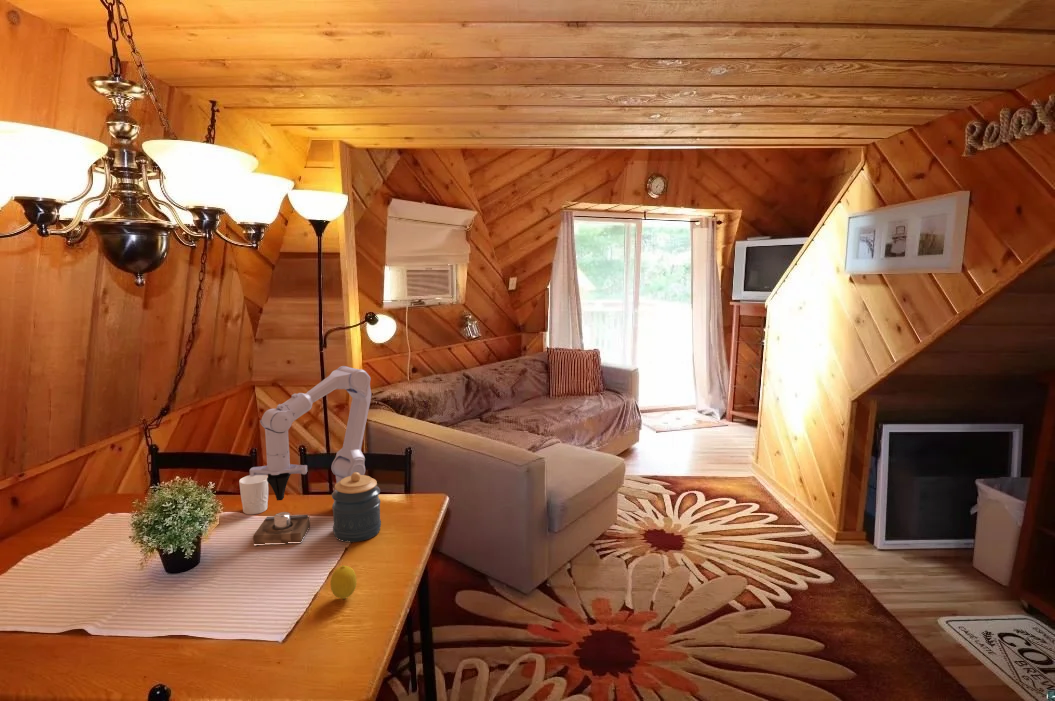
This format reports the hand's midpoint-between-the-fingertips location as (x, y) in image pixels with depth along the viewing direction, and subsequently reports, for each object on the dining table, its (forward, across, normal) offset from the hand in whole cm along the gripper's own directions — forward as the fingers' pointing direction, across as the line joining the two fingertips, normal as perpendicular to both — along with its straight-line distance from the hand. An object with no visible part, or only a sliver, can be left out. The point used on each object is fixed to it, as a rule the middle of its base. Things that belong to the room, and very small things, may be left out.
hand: (280, 498), depth 150 cm
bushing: (+10, +1, -2) cm, 10 cm away
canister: (+10, +21, -2) cm, 23 cm away
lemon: (+10, +22, -35) cm, 42 cm away
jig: (+10, +1, -2) cm, 10 cm away
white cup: (+10, -12, +16) cm, 22 cm away
